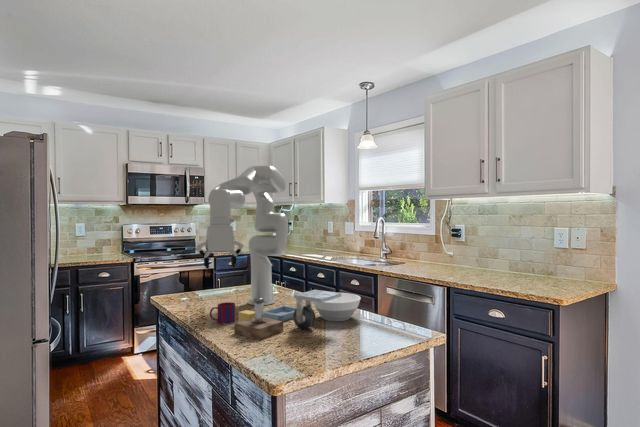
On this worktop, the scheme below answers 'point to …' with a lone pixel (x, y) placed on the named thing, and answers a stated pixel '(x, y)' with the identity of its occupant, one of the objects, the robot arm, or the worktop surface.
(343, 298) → the bowl
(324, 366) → the worktop surface
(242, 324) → the socket block
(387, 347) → the worktop surface
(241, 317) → the block
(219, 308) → the mug
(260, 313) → the pin
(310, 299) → the caster wheel
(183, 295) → the worktop surface
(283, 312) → the tray
